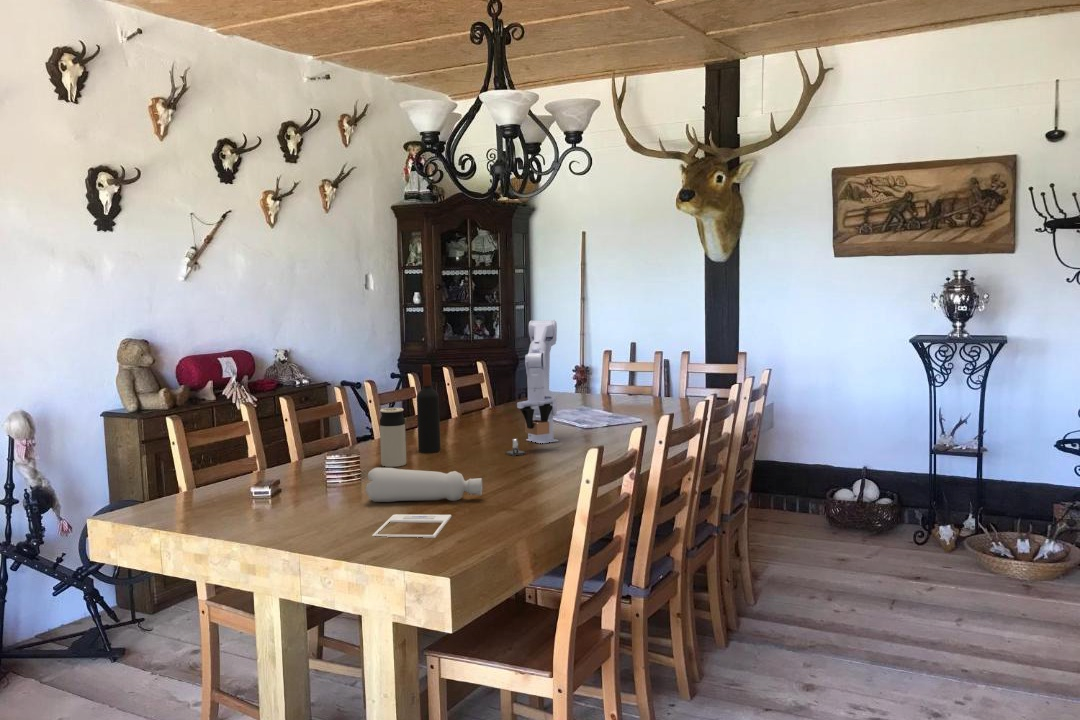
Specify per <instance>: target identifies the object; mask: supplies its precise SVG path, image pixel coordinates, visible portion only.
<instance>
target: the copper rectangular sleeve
mask: <svg viewBox="0 0 1080 720" xmlns="http://www.w3.org/2000/svg"><path fill="white" fill-rule="evenodd" d="M524 433H526V434H528V433H529V434H534V435H542V434H549V422H548V421H542V420H533V428H532V429H529V428H527V424H526V421H524Z"/></svg>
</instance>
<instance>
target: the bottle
mask: <svg viewBox="0 0 1080 720" xmlns="http://www.w3.org/2000/svg"><path fill="white" fill-rule="evenodd" d="M367 479H368V480H369V482H368V483H367V484H366V488H365V490H366V495H367V496H368V498H369V499H370V500H371V501H372V502H374V503H393V502H412V501H413V502H414V501H439V500H444V499H446V500H448V501H452V502H456V501H458V500H460V499H461V500H462V497H463V495H464V493H467V494H468V495H469V496H471V495H473V496H474V495H475V496H482V493H483V477H479V478H478V477H477V478H471V477H470V478H469V479H467V480H465V479H464V476H463V474H462V473H460V472H458V471H456V470H453V471H449V472H448V473H445V472H441V471H430V470H417V469H401V468H396V467H374V468H372V469H371V470H370V471H368V473H367Z"/></svg>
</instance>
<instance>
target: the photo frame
mask: <svg viewBox="0 0 1080 720" xmlns="http://www.w3.org/2000/svg"><path fill="white" fill-rule="evenodd" d="M451 518H452V514H397V513H395V514H394V513H393V514H392V516H390V517H389V518H388V519H387V520H386V521H385V522H384V523H383V524H382V525H381V526H380V527H379V528H378V529H377V530H376V531H375V532H374V533H372V535H371V537H372V536H387V537H386V538H388V537H417V538H418V537H423V538H422V539H435V538H437V536H438V535H439V534H440V532H441V530H443V529H444V527H445V525H446V524H447V523H448V522H449V521H450V519H451ZM389 522H390V523H419V524H420V523H423V524H425V523H426V524H427V523H431V524H432V523H435V524H436V523H439V524H440V523H441V524H440V525H439V526H438V528H437V529H436V530H435V532H434V533H433V534H387V533H385V534H380V533H379V534H378V532H379V531H381V530H382V529H383V528H384V527H385V526H386V525H387V524H388V523H389ZM390 523H389V524H390ZM389 524H388V525H389ZM388 525H387V526H388ZM387 526H386V527H387ZM386 527H385V528H386ZM385 528H384V529H385ZM384 529H383V530H384ZM383 530H382V531H383ZM382 531H381V532H382ZM417 538H416V539H417ZM418 539H419V538H418Z"/></svg>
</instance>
